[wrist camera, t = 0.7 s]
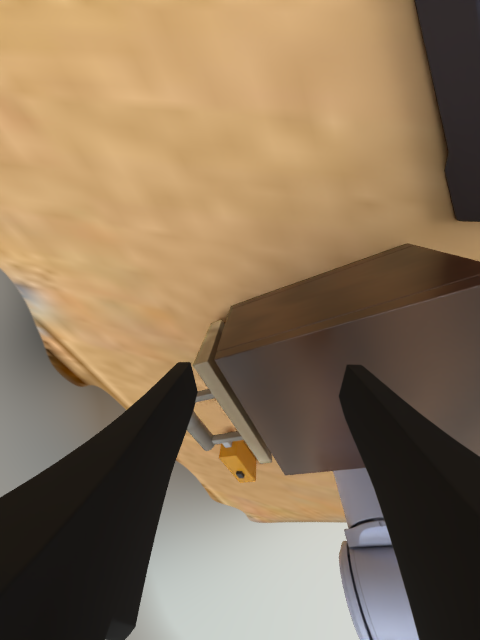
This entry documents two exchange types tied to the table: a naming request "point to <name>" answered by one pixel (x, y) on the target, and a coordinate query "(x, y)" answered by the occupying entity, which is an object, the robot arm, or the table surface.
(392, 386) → the cabinet
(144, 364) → the table surface
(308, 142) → the table surface
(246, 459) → the box cutter
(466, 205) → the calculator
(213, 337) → the drawer
